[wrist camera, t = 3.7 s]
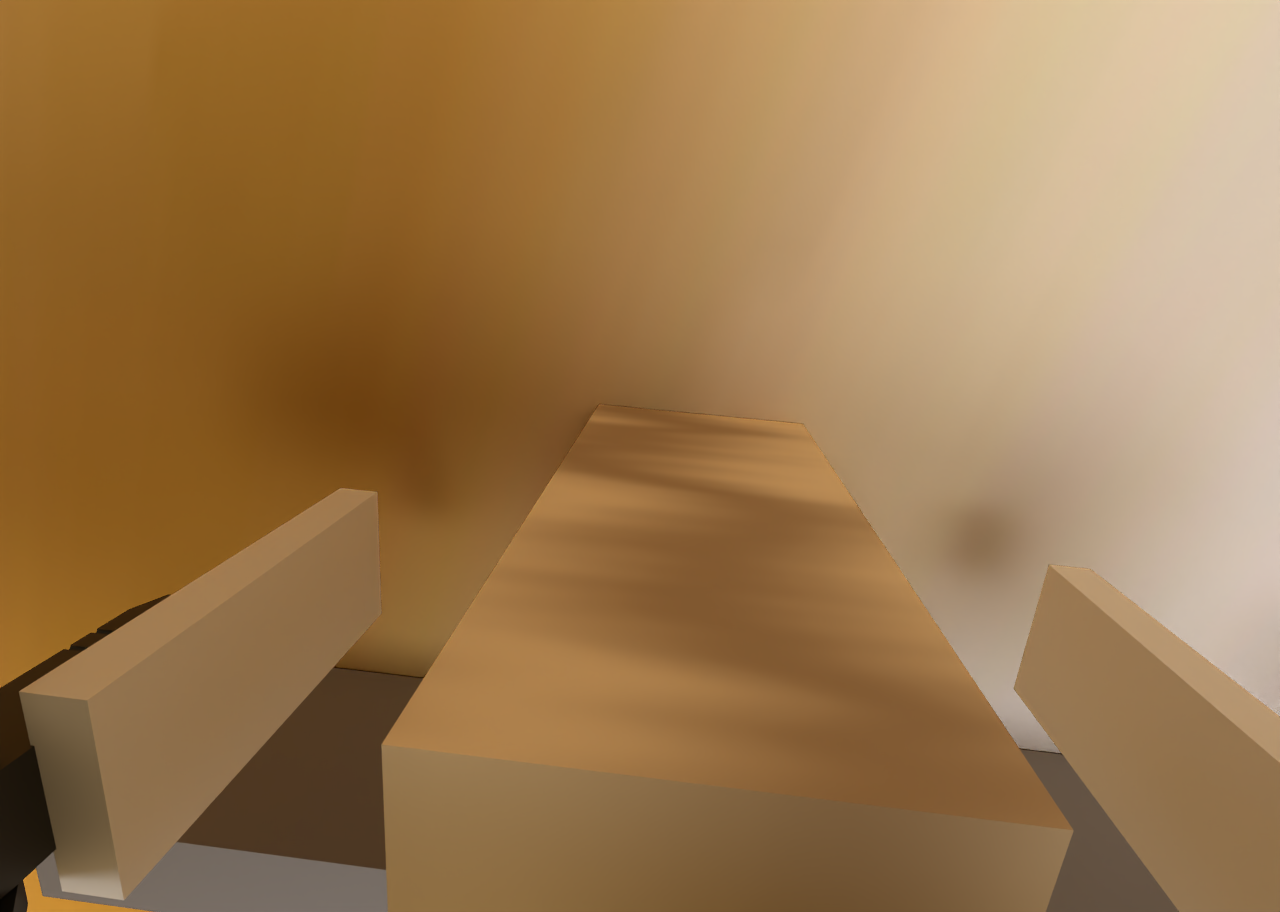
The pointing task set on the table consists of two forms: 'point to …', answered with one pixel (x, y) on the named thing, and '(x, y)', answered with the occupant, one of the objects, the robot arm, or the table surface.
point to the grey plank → (355, 832)
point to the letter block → (706, 706)
